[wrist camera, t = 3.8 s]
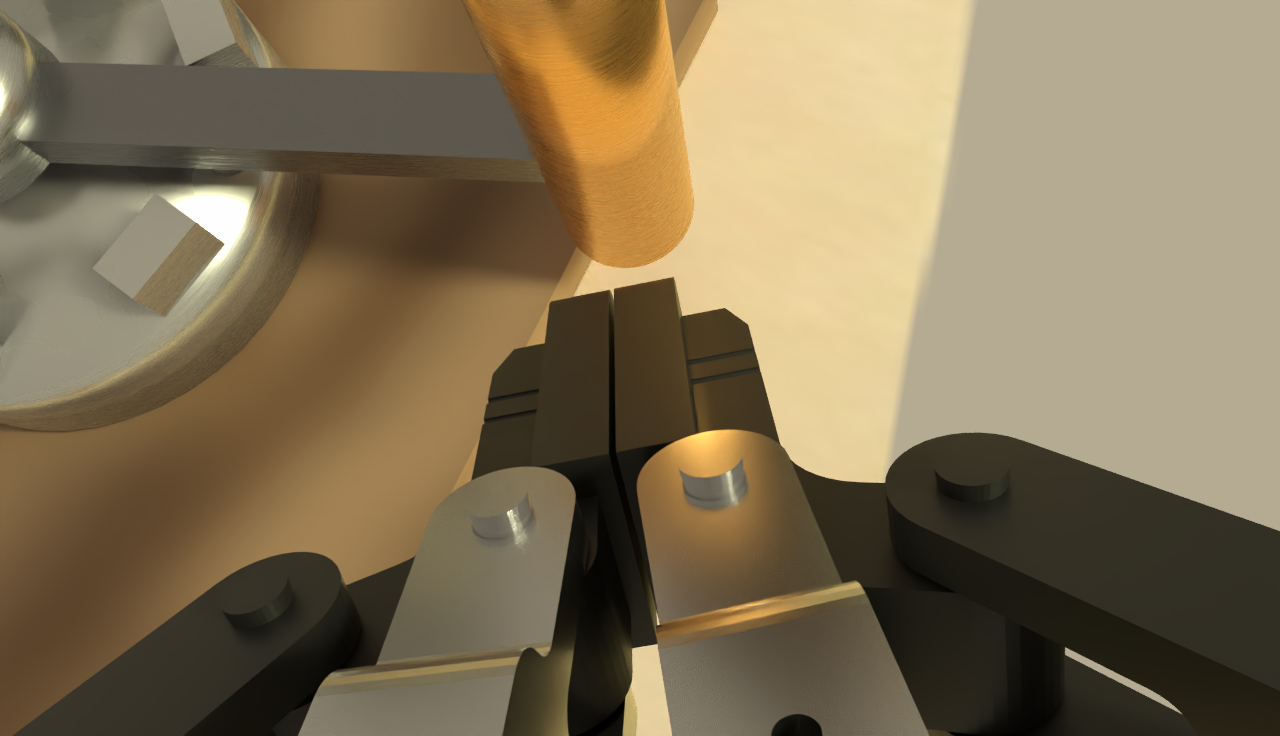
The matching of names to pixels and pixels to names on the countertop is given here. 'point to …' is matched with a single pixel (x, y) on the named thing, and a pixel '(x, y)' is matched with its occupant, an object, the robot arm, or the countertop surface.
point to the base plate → (296, 387)
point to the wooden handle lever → (280, 172)
